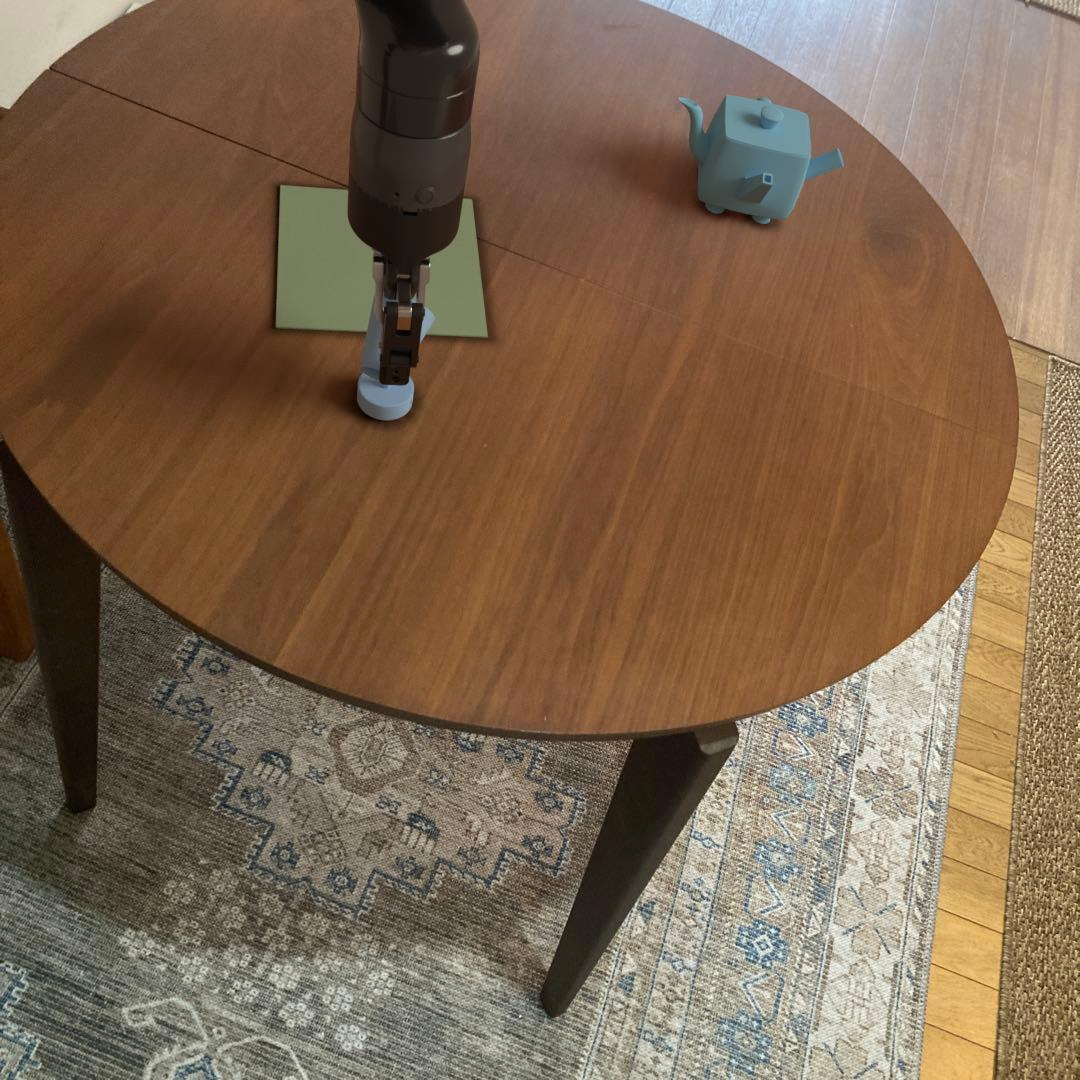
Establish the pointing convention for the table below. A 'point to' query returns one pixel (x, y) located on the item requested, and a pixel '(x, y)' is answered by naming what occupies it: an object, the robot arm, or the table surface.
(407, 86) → the robot arm
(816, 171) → the teapot
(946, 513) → the table surface
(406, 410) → the spotlight
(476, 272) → the mat
